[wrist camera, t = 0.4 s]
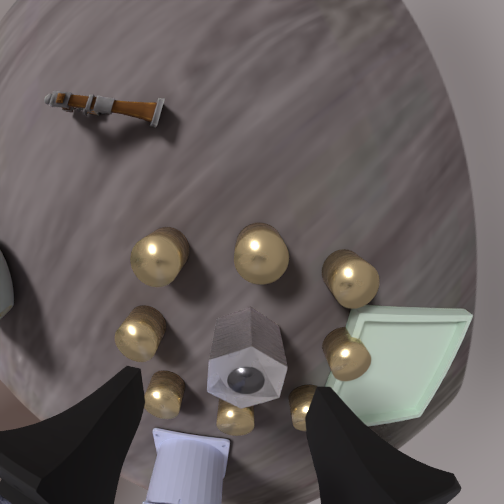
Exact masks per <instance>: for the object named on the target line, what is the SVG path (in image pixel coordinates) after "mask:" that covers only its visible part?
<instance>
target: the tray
mask: <svg viewBox="0 0 504 504" xmlns="http://www.w3.org/2000/svg"><path fill="white" fill-rule="evenodd" d="M472 316H473V315H472V314H471V313H469V312H468V311H467V310H465V309H453V308H417V307H394V306H376V305H364V306H363V307H360V308H355V309H351V311H350V314H349V318H348V321H347V324H346V329H347V330H348V332H349V334H350V335H351V337H354V338H358V339H359V338H360V339H361V341H362V342H363V344H364V345H365V347H366V349H367V350H368V352H369V353H370V355H371V364H370V366H369V368H368V370H367V371H366V372H365V373H364V374H363V375H362V376H360V377H358V378H357V379H354V380H351V381H340V380H337V379H336V378H335V377H334V376H333V374H332V371H331V372H330V374H329V377H328V380H327V382H326V385H325V387H331V388H332V389H333V390H334V391H335V392H336V394H337V395H338V396H339V397H340V398H341V399H342V400H343V402H344V403H345V404H346V405H347V406H348V407H349V408H350V409H351V410H352V411H353V412H354V413H355V415H356V416H357V417H358V418H359V419H360V420H361V421H362V422H363V423H365V424H366V425H367V426H374V425H380V424H386V423H392V422H398V421H403V420H408V419H412V418H417V417H420V416H421V415H422V413H423V412H424V410H425V409H426V407H427V405H428V404H429V402H430V401H431V399H432V397H433V396H434V394H435V392H436V391H437V389H438V387H439V386H440V384H441V382H442V380H443V378H444V377H445V375H446V373H447V371H448V369H449V367H450V365H451V363H452V361H453V359H454V357H455V355H456V353H457V351H458V349H459V347H460V345H461V343H462V340H463V338H464V336H465V334H466V331H467V329H468V326H469V324H470V321H471V319H472Z"/></svg>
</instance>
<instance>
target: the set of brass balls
mask: <svg viewBox="0 0 504 504" xmlns="http://www.w3.org/2000/svg"><path fill="white" fill-rule="evenodd" d="M188 257H189V244H188V241H187V239H186V238H185V236H184V235H183V234H182V233H181V232H180V231H178V230H177V229H174V228H171V227H163V228H160V229H157V230H156V231H154V232H152V233H151V234H149V235H148V236H146V237H145V238H143V239H141V240H140V241H139V242H137V243H136V245H135V246H134V248H133V250H132V252H131V266H132V269H133V272H134V273H135V275H136V276H137V278H138V279H139V280H140V281H142V282H143V283H145V284H147V285H149V286H152V287H162V286H166V285H168V284H169V283H171V282H172V281H173V280H174V279H175V277H176V276H177V274H178V273H179V271H180V270H181V269H182V267H183V266H184V264H185V263H186V261H187V259H188ZM288 262H289V253H288V249H287V247H286V245H285V243H284V241H283V240H282V238H281V236H280V234H279V233H278V231H277V230H276V229H275V228H274V227H272V226H270V225H268V224H265V223H253V224H250V225H248V226H246V227H245V228H244V229H243V230H242V231H241V232H240V233H239V235H238V237H237V241H236V247H235V253H234V263H235V267H236V269H237V271H238V273H239V274H240V275H241V276H242V277H243V278H244V279H245V280H247V281H248V282H251V283H254V284H269V283H272V282H274V281H276V280H277V279H279V278H280V277H281V276H282V275H283V273H284V272H285V270H286V269H287V266H288ZM322 278H323V280H324V282H325V284H326V285H327V286H328V288H329V289H330V291H331V292H332V294H333V295H334V296H335V298H336V299H337V301H338V302H339V303H340V304H341V305H342V306H344V307H346V308H351V309H355V308H360V307H363V306H364V305H366V304H368V303H369V302H370V301H371V300H372V299H373V298H374V296H375V295H376V293H377V291H378V287H379V276H378V273H377V271H376V269H375V268H374V267H373V266H371V265H370V264H369V263H367V262H366V261H365V260H363V259H362V258H361V257H359V256H358V255H357V254H355V253H354V252H352V251H350V250H345V249H343V250H338V251H335V252H333V253H332V254H331V255H329V256H328V258H327V259H326V260H325V262H324V264H323V267H322ZM165 331H166V322H165V319H164V317H163V316H162V314H161V313H160V312H159V311H157V310H156V309H154V308H152V307H150V306H145V305H144V306H138V307H136V308H134V309H133V310H132V312H131V313H130V314H129V316H128V317H127V318H126V319H125V321H124V322H123V323H122V325H121V326H120V327H119V329H118V330H117V331H116V334H115V342H116V345H117V347H118V349H119V350H120V352H121V353H122V354H123V355H125V356H126V357H127V358H129V359H131V360H133V361H137V362H146V361H148V360H150V359H152V357H153V356H154V354H155V352H156V350H157V348H158V346H159V344H160V342H161V340H162V337H163V335H164V333H165ZM322 349H323V352H324V354H325V357H326V359H327V361H328V364H329V366H330V369H331V371H332V374H333V376H334V377H335V378H336V379H337V380H340V381H351V380H354V379H357V378H358V377H360V376H362V375H363V374H364V373H365V372H366V371H367V370H368V368H369V366H370V364H371V355H370V353H369V352H368V350H367V349H366V347H365V345H364V344H363V342H362V341H361V339H360V338H359V339H358V338H354V337H351V335H350V334H349V332H348V330H347V329H346V327H342V328H338V329H335V330H333V331H332V332H330V333H329V334H328V335H327V336H326V338H325V339H324V341H323V345H322ZM316 387H317V386H315V385H303V386H300V387H298V388H296V389H294V390H293V391H292V392H291V393H290V395H289V405H290V410H291V416H292V421H293V426H294V427H295V428H296V429H298V430H301V431H306V423H305V417H306V414H307V411H308V409H309V406H310V404H311V401H312V398H313V395H314V393H315V390H316ZM184 390H185V383H184V381H183V380H182V379H181V378H180V377H179V376H178V375H177V374H175V373H173V372H170V371H158V372H156V373H154V375H153V376H152V379H151V381H150V383H149V386H148V388H147V391H146V393H145V395H144V396H145V406H144V408H145V409H146V410H147V411H148V412H149V413H150V414H152V415H154V416H156V417H159V418H162V419H172V418H175V417H176V416H177V415H178V414H179V410H180V406H181V402H182V398H183V394H184ZM217 428H218V429H219V430H220V431H221V432H223V433H225V434H228V435H233V436H240V435H245V434H247V433H249V432H251V431H252V430H253V428H254V405H253V406H249V407H245V408H239V407H237V406H235V405H233V404H231V403H229V402H227V401H225V400H223V399H221V398H219V405H218V415H217Z"/></svg>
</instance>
